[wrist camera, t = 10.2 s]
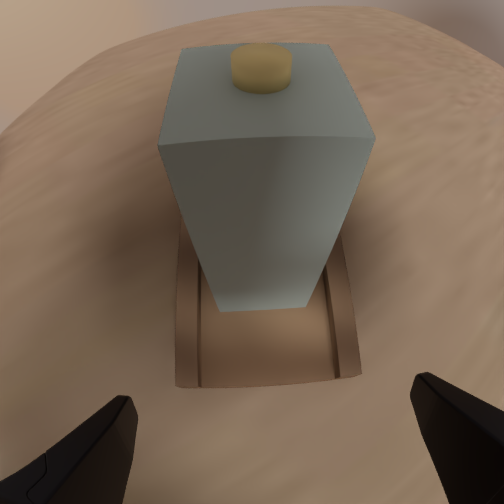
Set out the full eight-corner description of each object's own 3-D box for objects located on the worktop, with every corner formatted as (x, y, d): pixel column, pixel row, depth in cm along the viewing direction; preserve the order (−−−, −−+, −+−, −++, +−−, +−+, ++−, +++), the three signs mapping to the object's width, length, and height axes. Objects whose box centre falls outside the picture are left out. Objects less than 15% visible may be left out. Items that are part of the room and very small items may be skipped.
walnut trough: (353, 376, 17) (363, 373, 15) (182, 387, 17) (173, 386, 15) (321, 184, 23) (325, 166, 22) (188, 190, 23) (183, 173, 21)
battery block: (305, 307, 18) (384, 112, 6) (219, 311, 18) (148, 119, 6) (296, 232, 21) (331, 25, 8) (219, 236, 20) (178, 29, 8)
